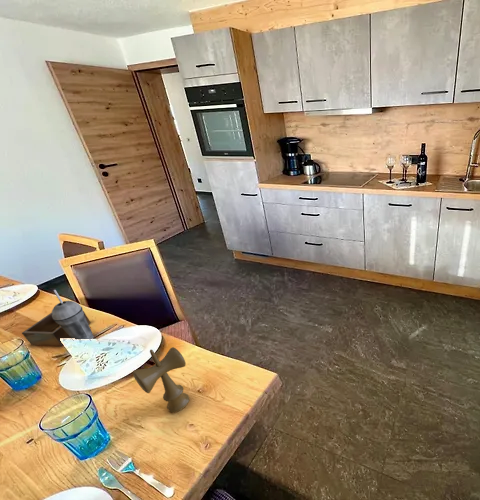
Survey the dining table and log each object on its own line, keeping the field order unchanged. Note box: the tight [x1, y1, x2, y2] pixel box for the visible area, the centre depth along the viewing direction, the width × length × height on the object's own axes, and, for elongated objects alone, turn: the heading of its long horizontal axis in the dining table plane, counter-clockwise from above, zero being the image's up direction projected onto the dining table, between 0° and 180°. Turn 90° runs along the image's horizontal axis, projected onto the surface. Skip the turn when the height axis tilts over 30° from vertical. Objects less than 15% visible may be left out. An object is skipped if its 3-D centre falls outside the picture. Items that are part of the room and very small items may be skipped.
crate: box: [21, 310, 91, 347], centre depth 99 cm, size 11×11×6 cm
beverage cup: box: [51, 289, 94, 340], centre depth 93 cm, size 7×7×20 cm
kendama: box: [132, 346, 190, 413], centre depth 70 cm, size 6×10×20 cm, turn 145°
